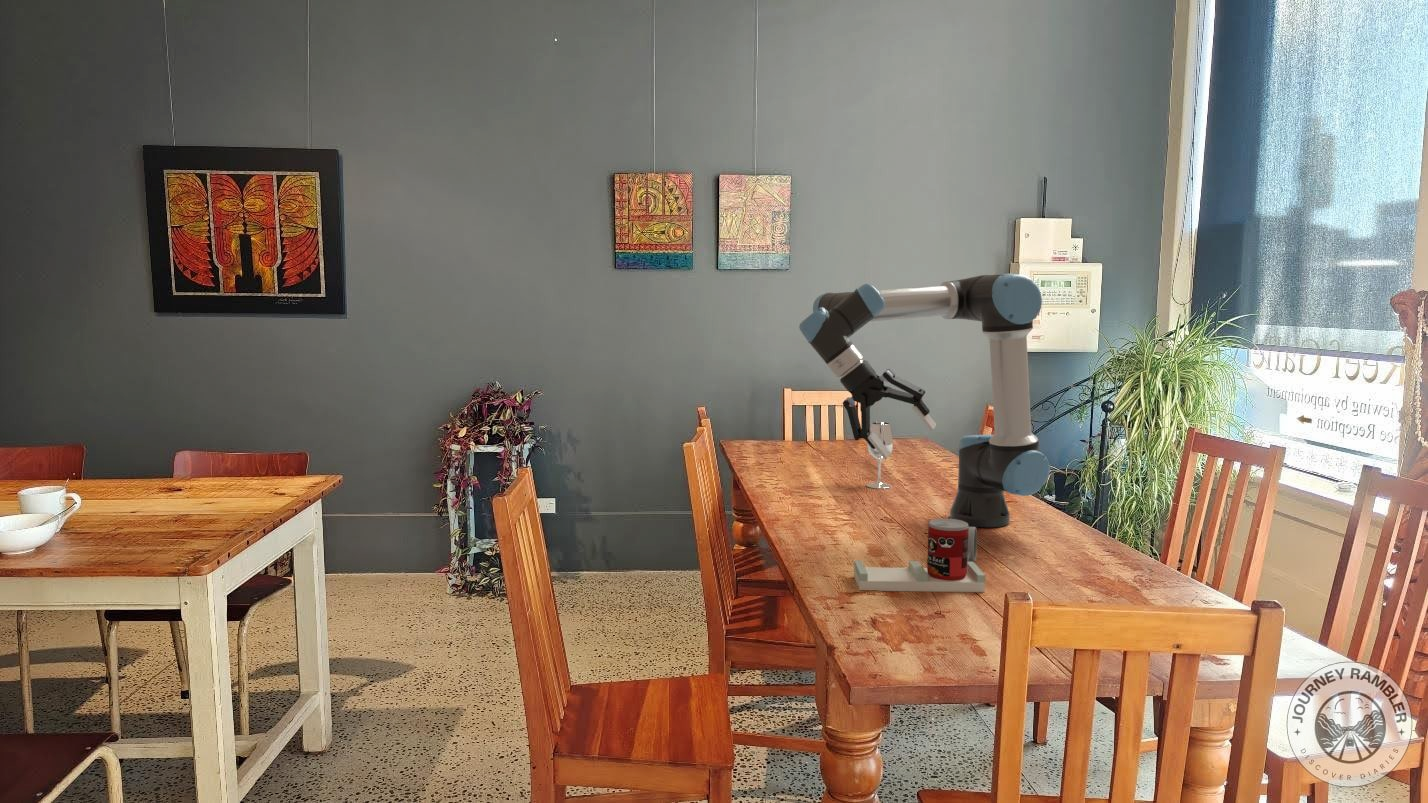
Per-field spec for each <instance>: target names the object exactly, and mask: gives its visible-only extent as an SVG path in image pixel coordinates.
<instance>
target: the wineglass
mask: <svg viewBox="0 0 1428 803" xmlns="http://www.w3.org/2000/svg"><path fill="white" fill-rule="evenodd" d="M870 431H871V433H872V432H874V433H875V434H876V435H877V436H878V438H879V439H880V440H881V441H882V443H883V444H884V445H885V446H886V448H887V449H888V450H889V451H890V453H891V454H892V451H893V448H894V447H893V446H894V445H893V444H894V443H893V442H894V441H893V435H892V429H891V423H889V422H884V421H883V422H882V421H874V422H871V423H870ZM871 433H870V434H871ZM866 446H867V450H868V453H869V454H870V455H871V456H872V457H873V458H874V459H877V463H878V465H877V466H878V471H877V472H878V473H877V481H876V482H870V483H867V484H866V487H868V488H871V489H879V490H884V489H890V488H892V485H891V484H889V483H886V482H883V481H882V479H881V473H882V472H881V471H882V470H881V468H882V461H883V460H885V459H884V458H883V457H882V455H881V454H880V453H879V452H878V450H877V449H876V448H875V449H873V448H871V446H870V445H869V444H868V443H867V445H866Z"/></svg>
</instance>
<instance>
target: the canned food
mask: <svg viewBox="0 0 1428 803" xmlns="http://www.w3.org/2000/svg"><path fill="white" fill-rule="evenodd" d="M927 527H928V529H927V531H928V532H927V560H926V561H927V562H926V563H927V565H926V566H927V567H926V568H927V571H928V574H929V575H930V576H931V577H933V578H937V579H941V580H960V579H963V578H965V576H966V574H967V559H968V534H969V527H970V526H968V523H966V522H964V521H961V520H957V519H950V518H944V517H943V518H942V517H941V518H934V519H931V520H929V521H928V526H927Z"/></svg>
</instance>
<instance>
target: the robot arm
mask: <svg viewBox="0 0 1428 803" xmlns="http://www.w3.org/2000/svg"><path fill="white" fill-rule="evenodd" d="M1042 303H1043V298H1042V293H1041V291H1040V288H1039V287H1038V284H1036V282H1035V281H1033V280H1032V279H1031V278H1030V277H1029V276H1027V275H1025V274H1017V273H1016V274H1015V273H1001V274H981V275H977V276H972V277H967V278H963V279H956V280H947V281H943V282H941V284H939V285H934V286H933V285H931V286H920V287H919V286H918V287H905V288H904V287H903V288H889V289H877V288H876V287H875V286H873V285H872V284H870V283H864V284H862V285H860V286H859V287H857V288H855V290H854V291H849V292H848V291H847V292H845V291H844V292H826V293H822V294H821V295H819V296H817V297H816V298H815V300H814V301H813V304H812V312H811V314H810V315H808V316H807V317H805V319H803V320H802V321H801V322H800V324H799V331H800V332H801V334H802V335H803V337H804V338H805V340H806V341H807V342H808V344H810V346H811V347H812V348H813V349H814V351H815V352H816V353H817V354H818V355H819V357H820V358H821V359H822V360H823V361H824V363H825V364H826V365H827V367H828V368H829V370H831V371H832V373H833V375H835V377H837V378H840V379H839V380H840V383H841V384H842V386H843V387H844V388H845V390H847V392H848V393H850V395H851V396H850V397H847V398H845V399H844V401H843V402H842V405H843V407H844V408H845V410H846V413H847V415H848V418H849V420H848V421H849V424H850V428H851V432H852V435H853V439H854V440H855V441H859V440H864V441H865V442H866V443H867V445H868V444H869V445H870V446H871V448H873V449H875V448H876V449H877V450H878V452H879V453H880V454H881V455H882V457H883V458H884V459H883V460H885V461H886V460H887V459H888V458H889V457H890V456H891V455H892V452H891V453H890V451H889V450H888V449H887V448H886V446H885V445H884V444H883V443H882V441H881V440H880V439H879V438H878V436H877V435H876V434H875V433H874V432H872V433H871V431H870V428H871V411H870V410H871V407H872V406H874V405H875V404H876V403H877V402H879V401H881V400H882V399H883V398H889V399H893V400H896V401H899V402H903V403H907V404H910V405H913V406H912V409H913V411H914V412H915V414H917V416H918V417H919V418H920V420H921V421H922V422H923V423H924V425H926V427H927V428H928V429H929V431H930V432H931V431H933V430H934V429H935V428H936V426H937V423H936V422H935V420H934V419H933V418H932V416H930V415H929V413H931V411H930V409H929V407H928V406H927V405H926V403H925V402H924V401H923V397H924V395H925V394H926V390H925V389H923V388H922V387H920V386H917V385H916V384H913V383H912V382H910V381H908V380H906V379H905V378H903V377H900V376H898V375H896V374H895V372H893V371H892V369H890V368H888V369H886V370H885V371H884V372H883V373H882V375H878V373H877V372H876V370H874V368H873V367H872V365H870V363H869V362H868V361H867V360H866V359H865V360H863V359H864V355H863V354H862V352H860V351H859V349H858V348H857V347H856V346H855V344H854V343H853V342H852V341H851V339H850V337H851V336H853V335H854V334H855V333H857V332H858V331H859V330H860V329H862V328H863V327H864V326H866V325H867V324H868V323H869V322H876V321H877V322H878V321H890V320H891V321H892V320H906V319H917V318H930V317H932V318H933V317H942V319H945V320H967V321H975V322H981V326H982V327H981V328H982V333H983V334H984V335H985V336H986V337H988V339H989V353H990V354H989V355H990V356H989V357H990V372H991V374H990V375H991V387H992V388H991V390H992V408H993V425H994V434H974V435H973V434H971V435H964V436H962V437H961V438H960V440H959V447H958V478H957V482H958V483H957V492H956V495H955V497H954V500H953V502H952V505H951V508H950V511H949V512H950V514H949V516H950V517H949V519H957V520H961V521H964V522H966V523H968V527H976V528H999V527H1005V526H1008V525H1009V524H1010V517H1011V513H1010V511H1009V508H1008V504H1007V501H1006V497H1005V492H1006V493H1008V494H1011V495H1016V496H1020V497H1027V496H1028V497H1029V496H1031V495H1033V494H1035V493H1036V494H1037V492H1039V491H1040V490H1041V489H1042V487H1043V486H1044V485H1045V484H1046V483H1047V481H1048V478H1049V475H1050V470H1051V468H1050V462H1049V460H1048V458H1047V456H1045V454H1044V453H1043V452H1040V448H1039V445H1040V444H1039V438H1038V437H1037V435H1035V434H1034V433H1033V432H1032V419H1031V417H1032V416H1031V397H1030V377H1029V361H1028V360H1029V358H1028V357H1029V356H1028V340H1027V338H1028V337H1027V336H1028V335H1029V333H1030V332H1032V330H1033V329H1034V325H1033V323H1034V321H1033V320H1035V319H1036V318H1037V317H1038V314H1039V313H1040V312H1041V309H1042ZM885 382H887V383H890V384H891V385H893V386H895V387H897V388H898V389H894V388H892V387H891V386H888V385H885ZM899 389H900V390H899ZM856 402H857V403H859V405H860V412H861V413H860V414H861V415H860V418H861V421H860V418H859V414H858V411H857V407H856ZM860 422H861V423H860ZM870 433H871V434H870Z"/></svg>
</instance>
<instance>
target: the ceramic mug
mask: <svg viewBox="0 0 1428 803" xmlns="http://www.w3.org/2000/svg"><path fill="white" fill-rule="evenodd" d="M968 527H969V534H968V559H967V562H974V563H975V562H976V560H977V554H978V531H977V527H975V526H968Z"/></svg>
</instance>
